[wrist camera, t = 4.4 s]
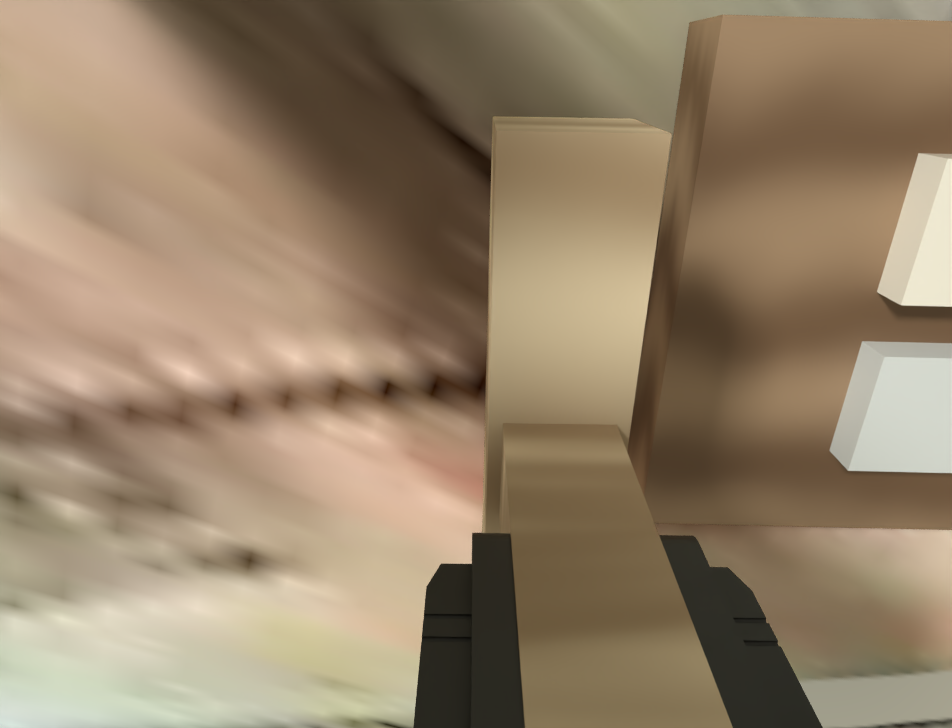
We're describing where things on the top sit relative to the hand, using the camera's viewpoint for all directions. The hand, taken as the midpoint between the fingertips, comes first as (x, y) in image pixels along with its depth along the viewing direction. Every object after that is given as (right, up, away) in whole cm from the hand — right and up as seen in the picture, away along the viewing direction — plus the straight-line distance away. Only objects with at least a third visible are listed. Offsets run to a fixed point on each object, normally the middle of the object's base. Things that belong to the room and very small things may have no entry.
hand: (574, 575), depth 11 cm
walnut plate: (+14, +7, +17) cm, 23 cm away
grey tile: (+16, +2, +15) cm, 22 cm away
